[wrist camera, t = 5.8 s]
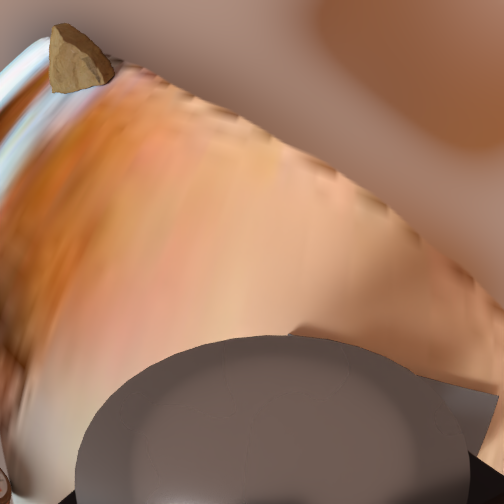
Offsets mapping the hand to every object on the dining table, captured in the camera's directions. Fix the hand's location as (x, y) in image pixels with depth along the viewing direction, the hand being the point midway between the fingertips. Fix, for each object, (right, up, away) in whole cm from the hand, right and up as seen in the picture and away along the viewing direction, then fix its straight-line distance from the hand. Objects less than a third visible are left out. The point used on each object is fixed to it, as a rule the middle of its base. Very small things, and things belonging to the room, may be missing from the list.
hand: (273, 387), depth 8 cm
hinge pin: (+1, -3, +6) cm, 7 cm away
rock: (-24, +27, +25) cm, 44 cm away
